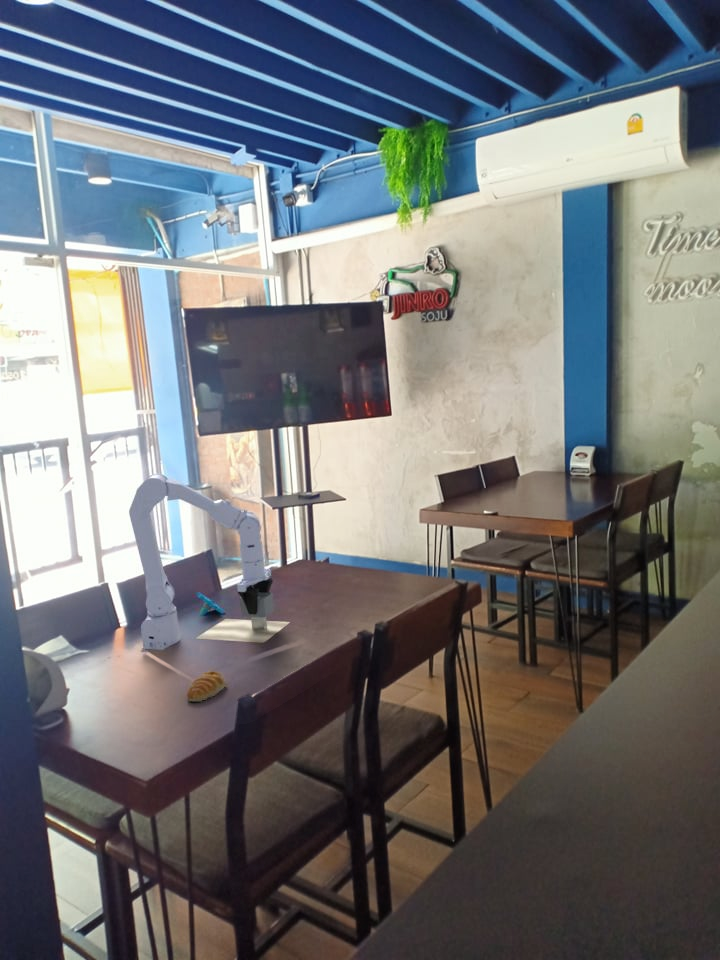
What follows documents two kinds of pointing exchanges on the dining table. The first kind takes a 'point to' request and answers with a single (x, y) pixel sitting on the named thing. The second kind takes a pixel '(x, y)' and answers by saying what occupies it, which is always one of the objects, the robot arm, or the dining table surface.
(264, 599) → the grey hollow rectangular block
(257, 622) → the key shaft
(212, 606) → the blue cross piece
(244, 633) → the shaft board
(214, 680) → the pastry
